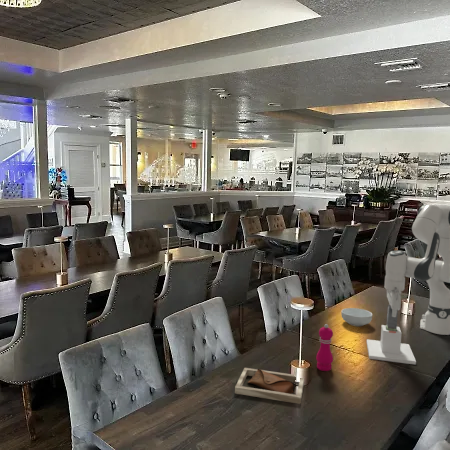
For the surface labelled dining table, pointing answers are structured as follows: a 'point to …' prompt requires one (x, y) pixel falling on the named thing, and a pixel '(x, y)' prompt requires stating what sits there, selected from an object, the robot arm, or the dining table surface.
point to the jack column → (391, 320)
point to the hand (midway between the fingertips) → (392, 313)
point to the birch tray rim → (266, 393)
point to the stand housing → (390, 347)
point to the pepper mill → (325, 349)
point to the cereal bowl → (356, 316)
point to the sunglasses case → (272, 382)
